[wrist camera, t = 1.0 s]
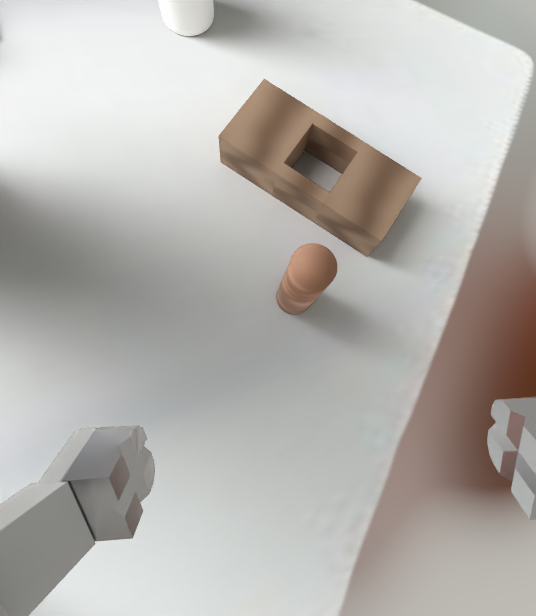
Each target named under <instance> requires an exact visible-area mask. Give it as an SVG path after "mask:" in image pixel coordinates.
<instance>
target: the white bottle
mask: <svg viewBox="0 0 536 616" xmlns="http://www.w3.org/2000/svg"><path fill="white" fill-rule="evenodd" d="M159 5H160V10H161V14H162V18H163V20H164V22H165V24H166V25H167V26H168V27H169V28H170V29H171V30H172V31H174V32H175V33H177V34H180V35H184V36H195V35H199V34H202V33H203V32H205V31H206V30H208V28H209V27H210V26H211V25H212V22H213V19H214V3H213V0H159Z"/></svg>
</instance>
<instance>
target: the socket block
mask: <svg viewBox="0 0 536 616" xmlns="http://www.w3.org/2000/svg"><path fill="white" fill-rule="evenodd" d="M219 147H220V158H221V163H223V164H225V165H226V166H228V167H229V168H231V169H232V170H234V171H235V172H237V173H238V174H240V175H242V176H243V177H245V178H246V179H248V180H249V181H251V182H252V183H254V184H255V185H257V186H259V187H260V188H262V189H263V190H265V191H266V192H268V193H269V194H271V195H272V196H274V197H275V198H277V199H279V200H280V201H282V202H283V203H285V204H286V205H288V206H289V207H291V208H292V209H294V210H296V211H297V212H299V213H300V214H302V215H303V216H305V217H306V218H308V219H309V220H311V221H313V222H314V223H316V224H317V225H319V226H320V227H322V228H323V229H325V230H326V231H328V232H330V233H331V234H333V235H334V236H336V237H337V238H339V239H340V240H342V241H343V242H345V243H347V244H348V245H350V246H351V247H353V248H354V249H356V250H357V251H359V252H360V253H362V254H363V255H365V256H367V255H368V254H369V253H370V252H371V251H372V250H373V249H374V248H375V247H376V246H377V245H378V244H379V243H380V242H381V241H382V240H383V238H384V237H385V235H386V234H387V232H388V231H389V229H390V227H391V226H392V224H393V223H394V221H395V220H396V218H397V216H398V215H399V213H400V212H401V210H402V208H403V207H404V205H405V204H406V202H407V201H408V199H409V197H410V196H411V194H412V193H413V191H414V189H415V188H416V186H417V185H418V183H419V182H420V180H421V178H420V177H419V176H417V175H416V174H414V173H412V172H411V171H409V170H408V169H406V168H405V167H403V166H401V165H400V164H398V163H397V162H395V161H393V160H392V159H390V158H389V157H387V156H386V155H384V154H382V153H381V152H379V151H378V150H376V149H374V148H373V147H371V146H370V145H368V144H367V143H365V142H363V141H362V140H360V139H359V138H357V137H355V136H354V135H352V134H351V133H349V132H348V131H346V130H344V129H343V128H341V127H340V126H338V125H336V124H335V123H333V122H332V121H330V120H329V119H327V118H325V117H324V116H322V115H321V114H319V113H317V112H316V111H314V110H313V109H311V108H310V107H308V106H306V105H305V104H303V103H302V102H300V101H298V100H297V99H295V98H294V97H292V96H291V95H289V94H287V93H286V92H284V91H283V90H281V89H279V88H278V87H276V86H275V85H273V84H272V83H270V82H268V81H267V80H265V79H264V80H263V81H262V82H261V84H260V85H259V86H258V87H257V89H256V90H255V91H254V92H253V94H252V95H251V96H250V97H249V99H248V100H247V101H246V102H245V104H244V105H243V106H242V107H241V109H240V110H239V111H238V112H237V114H236V115H235V116H234V117H233V119H232V120H231V121H230V122H229V124H228V125H227V126H226V127H225V129H224V130H223V131H222V132H221V134H220V135H219ZM305 150H306V151H307V152H309V153H310V154H312V155H314V156H315V157H317V158H318V159H320V160H321V161H323V162H325V163H326V164H328V165H329V166H331V167H332V168H334V169H335V170H337V171H339V172H340V173H342V176H341V177H340V179H339V180H338V182H337V183H336V184H335V186H334V187H333V189H332V190H331V192H328V191H327V190H325V189H323V188H322V187H320V186H319V185H317V184H316V183H314V182H313V181H311V180H309V179H308V178H306V177H305V176H303V175H302V174H300V173H299V172H297V171H295V170H294V169H292V167H293V166H294V165H295V163H296V162H297V161H298V159H299V158H300V156H301V155H302V154H303V152H304V151H305Z"/></svg>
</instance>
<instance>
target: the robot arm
mask: <svg viewBox="0 0 536 616" xmlns="http://www.w3.org/2000/svg"><path fill="white" fill-rule="evenodd" d="M491 415H492V417H493V418H494V420H495V421H496V423H495V424H494V425H493V426H492V427H491V428H490V429H489V430H488V440H487V443H488V448H489V454H490V457H491V459H492V461H493V464H494V465H495V467H496V469H497V470H498V472H499V473H500V474H501V475H503V476H504V477H506V478H508V479H509V480H511V481H512V482H513V483H512V488H511V492H512V493H513V495H514V497H515V498H516V500H517V501H518V503H519V504H520V505H521V507H522V509H523V510H524V511H525V513H526V515H527V516H528V518H529V519H536V397H526V398H514V399H501V400H495V402H494V403H493V405H492V410H491ZM146 439H147V437H146V434H145V432H144V429H143V427H140V426H119V427H100V428H85V429H79V430H77V431H75V432H74V433H73V434H72V436H71V437H70V439H69V440H68V441H67V443H66V444H65V446H64V447H63V448H62V450H61V451H60V453H59V454H58V455H57V457H56V458H55V460H54V461H53V462H52V464H51V465H50V467H49V468H48V469H47V471H46V472H45V474H44V475H43V476H42V478H41V479H40V480H39V482H38V483H34V484H30V485H28V486H27V487H25V488H24V489H22V490H21V491H19V492H18V493H16V494H15V495H13V496H12V497H11V498H9V499H8V500H6V501H5V502H3V503H2V504H0V616H29V614H30V613H31V612H32V611H33V610H34V609H35V608H36V607H37V606H38V605H39V604H40V603H41V602H42V600H43V599H44V598H45V597H46V596H47V595H48V594H49V593H50V592H51V591H52V590H53V589H54V588H55V586H56V585H57V584H58V583H59V582H60V581H61V580H62V579H63V578H64V577H65V576H66V575H67V574H68V572H69V571H70V570H71V569H72V568H73V567H74V566H75V565H76V564H77V563H78V562H79V561H80V560H81V559H82V557H83V556H84V555H85V554H86V553H87V552H88V551H89V550H90V549H91V548H92V547H93V546H94V545H95V541H105V540H118V539H130V538H133V536H134V533H135V531H136V528H137V526H138V523H139V520H140V518H141V515H142V512H143V509H142V506H141V504H140V502H141V501H142V500H143V499H144V498H145V497H146V496H148V495H149V494H150V491H151V488H152V485H153V481H154V473H155V467H154V459H153V456H152V453H151V452H150V451H149V450H148V449H146V448H145V447H144V444H145V442H146Z"/></svg>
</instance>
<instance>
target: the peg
mask: <svg viewBox="0 0 536 616" xmlns="http://www.w3.org/2000/svg"><path fill="white" fill-rule="evenodd" d="M336 273H337V262H336V259H335V257H334V255H333V253H332V252H331V251H330V250H329V249H328V248H326V247H324V246H322V245H320V244H306V245H303V246H301V247H300V248H298V249H297V250H296V251H295V252H294V254H293V256H292V258H291V260H290V263H289V265H288V268H287V270H286V272H285V275H284V277H283V279H282V282H281V284H280V287H279V289H278V291H277V302H278V305H279V306H280V308H281V309H282V310H284V311H285V312H287V313H289V314H299V313H302V312H304V311H305V310H306V309H307V308H308V307H309V306H310V305H311V304H312V303H313V302H314V301H315V299H316V298H317V297H318V296H319V295H320V294H321V293H322V292H323V291H324V290H325V289H326V288H327V286H328V285H329V284H330V283H331V282H332V281H333V280H334V278H335V276H336Z"/></svg>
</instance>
